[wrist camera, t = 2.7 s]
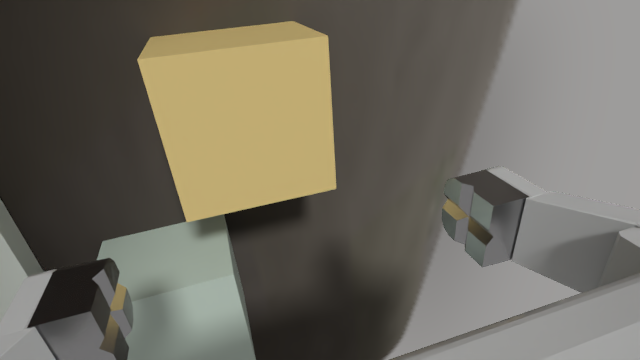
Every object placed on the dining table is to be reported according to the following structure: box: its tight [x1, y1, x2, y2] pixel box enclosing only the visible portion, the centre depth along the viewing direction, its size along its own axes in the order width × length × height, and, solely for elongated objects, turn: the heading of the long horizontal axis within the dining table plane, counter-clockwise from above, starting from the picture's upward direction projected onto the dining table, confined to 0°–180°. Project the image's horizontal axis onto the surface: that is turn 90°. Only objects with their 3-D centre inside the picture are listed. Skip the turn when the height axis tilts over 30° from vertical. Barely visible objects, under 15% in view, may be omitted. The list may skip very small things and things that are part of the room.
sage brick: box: [97, 214, 256, 360], centre depth 19 cm, size 6×6×5 cm
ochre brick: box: [137, 21, 336, 222], centre depth 15 cm, size 6×6×5 cm
